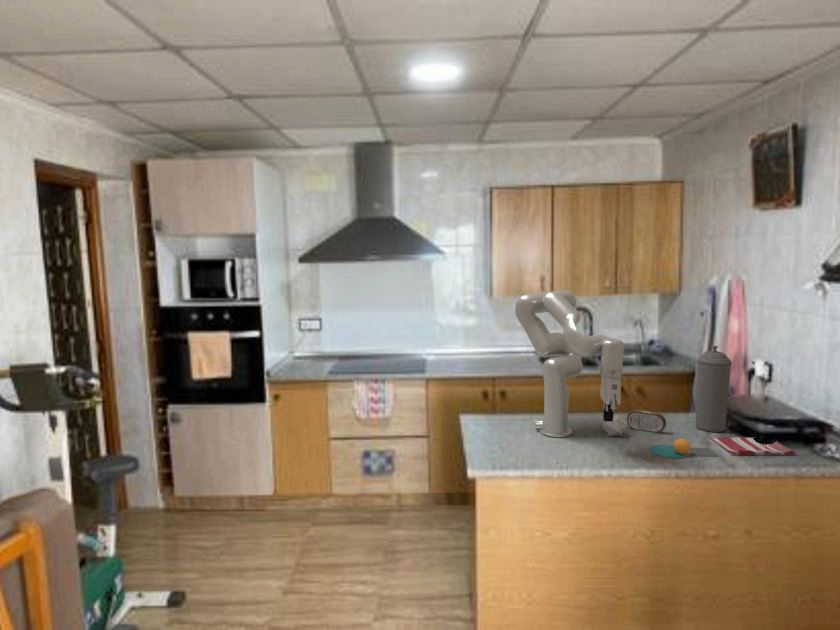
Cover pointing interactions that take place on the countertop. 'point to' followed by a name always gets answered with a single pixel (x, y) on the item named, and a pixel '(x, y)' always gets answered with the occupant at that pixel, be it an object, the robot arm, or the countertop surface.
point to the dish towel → (749, 447)
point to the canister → (712, 390)
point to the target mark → (667, 452)
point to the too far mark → (702, 452)
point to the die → (615, 426)
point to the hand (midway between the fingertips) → (607, 420)
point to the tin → (646, 421)
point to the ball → (682, 446)
